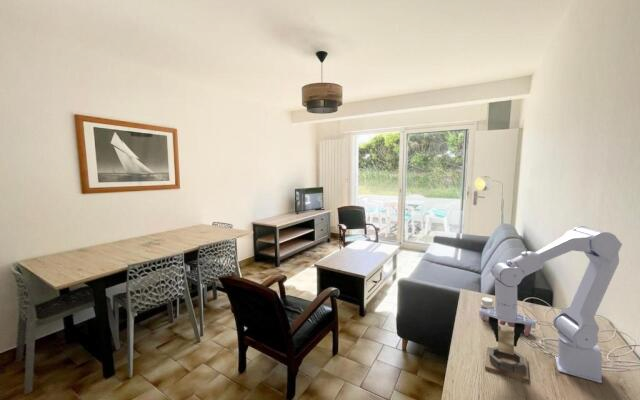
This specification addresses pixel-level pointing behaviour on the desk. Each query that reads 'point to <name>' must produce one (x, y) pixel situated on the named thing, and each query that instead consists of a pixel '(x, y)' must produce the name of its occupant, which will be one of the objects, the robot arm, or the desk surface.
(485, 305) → the pill bottle
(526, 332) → the video game controller
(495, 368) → the ring holder
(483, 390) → the desk surface
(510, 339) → the maple plug
